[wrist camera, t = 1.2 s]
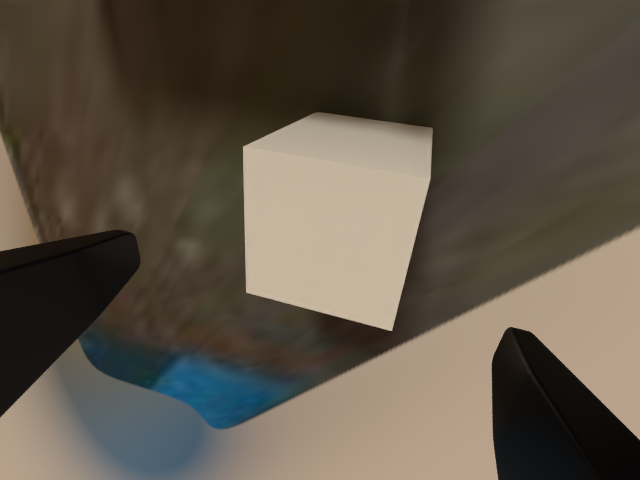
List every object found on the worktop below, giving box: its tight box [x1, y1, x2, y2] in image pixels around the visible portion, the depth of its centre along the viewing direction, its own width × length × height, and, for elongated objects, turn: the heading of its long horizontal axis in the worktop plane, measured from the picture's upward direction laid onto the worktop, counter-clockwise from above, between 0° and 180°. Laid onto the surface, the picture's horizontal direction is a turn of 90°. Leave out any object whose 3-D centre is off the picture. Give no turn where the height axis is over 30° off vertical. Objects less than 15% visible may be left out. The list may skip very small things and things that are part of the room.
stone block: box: [243, 112, 433, 331], centre depth 13 cm, size 5×5×7 cm
